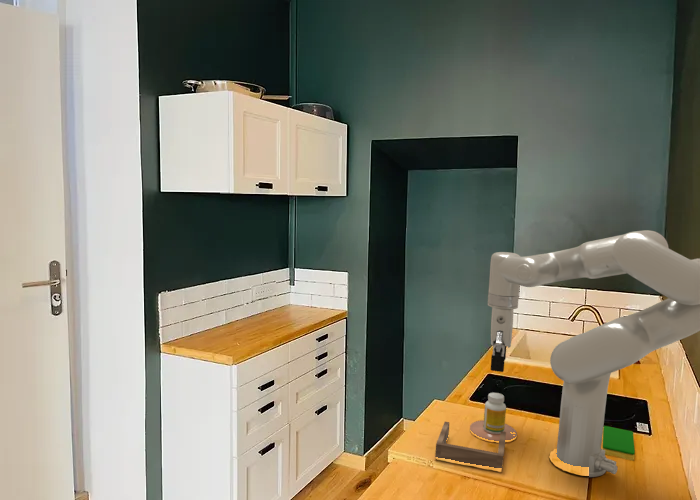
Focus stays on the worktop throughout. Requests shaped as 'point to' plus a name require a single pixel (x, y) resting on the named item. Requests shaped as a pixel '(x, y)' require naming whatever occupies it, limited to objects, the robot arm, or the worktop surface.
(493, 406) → the supplement bottle
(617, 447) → the dish sponge
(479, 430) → the terracotta coaster
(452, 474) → the worktop surface
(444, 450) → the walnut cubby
